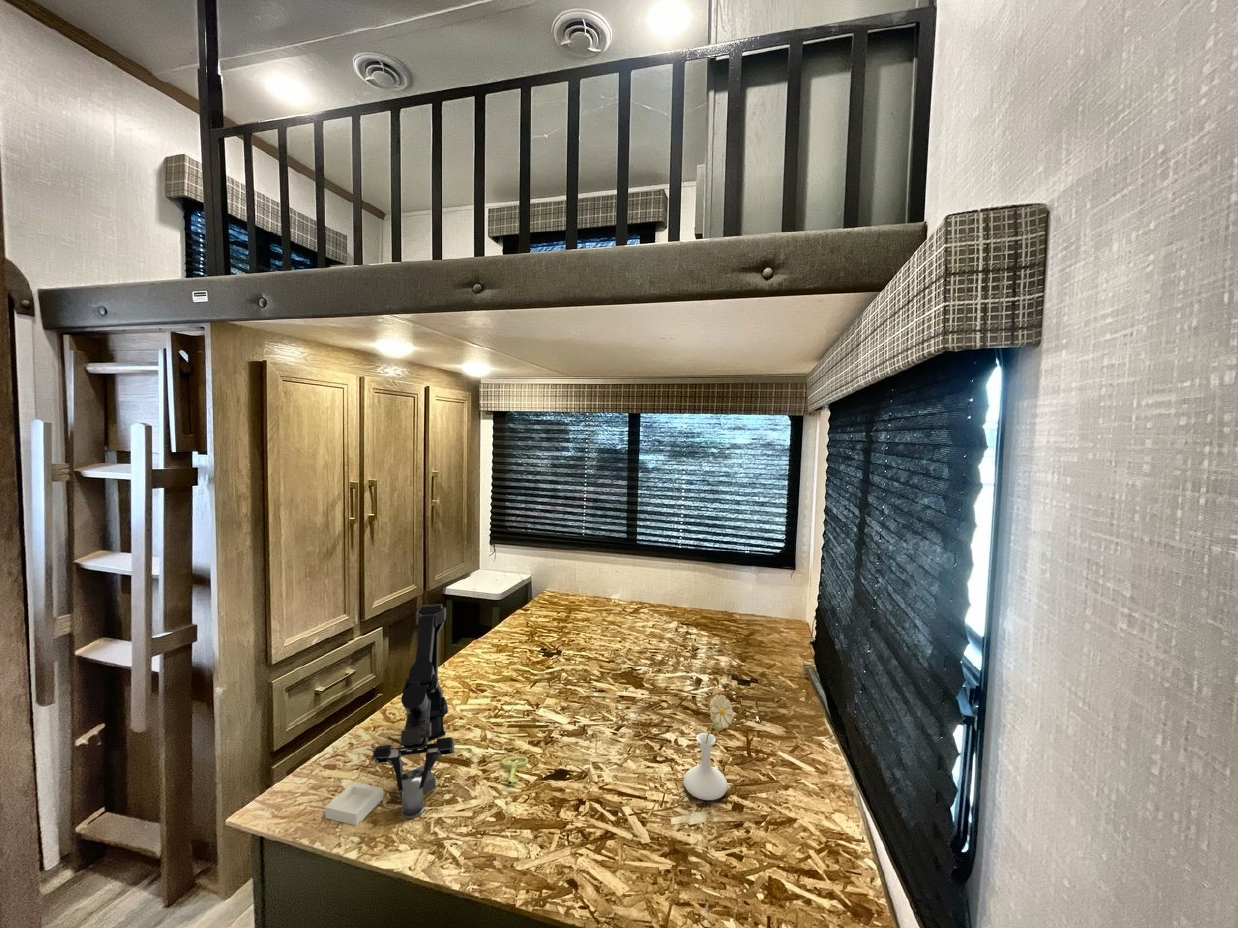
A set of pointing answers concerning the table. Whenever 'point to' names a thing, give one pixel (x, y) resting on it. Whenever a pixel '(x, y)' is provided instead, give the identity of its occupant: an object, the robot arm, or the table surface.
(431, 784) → the block
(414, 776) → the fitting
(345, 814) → the tray
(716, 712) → the flower in vase
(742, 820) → the table surface
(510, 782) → the key
